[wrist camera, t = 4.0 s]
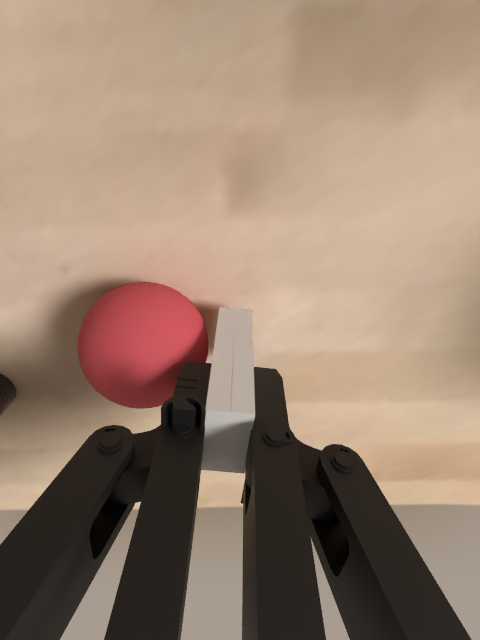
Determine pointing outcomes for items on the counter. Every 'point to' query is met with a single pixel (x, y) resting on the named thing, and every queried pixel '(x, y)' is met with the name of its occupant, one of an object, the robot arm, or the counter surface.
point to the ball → (140, 343)
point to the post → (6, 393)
